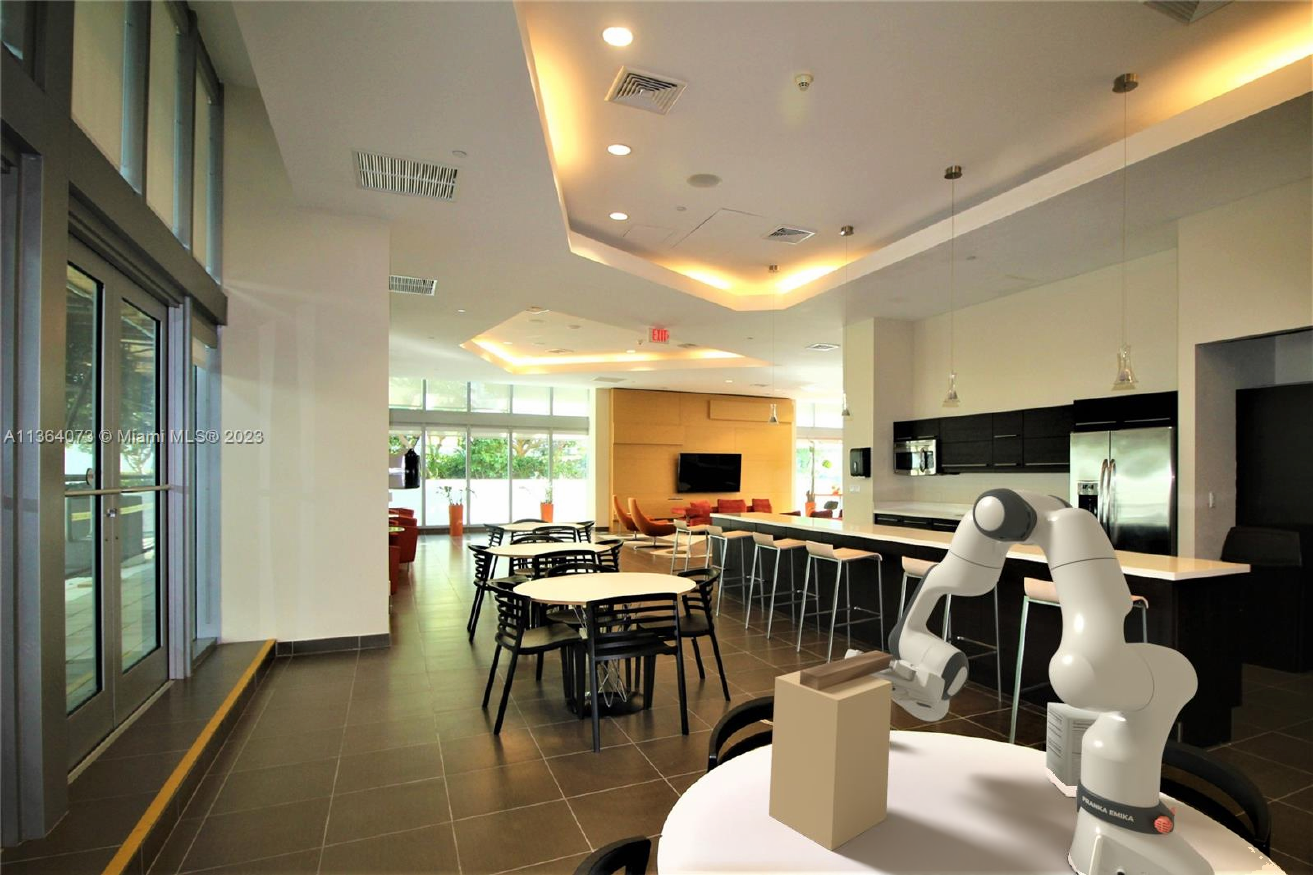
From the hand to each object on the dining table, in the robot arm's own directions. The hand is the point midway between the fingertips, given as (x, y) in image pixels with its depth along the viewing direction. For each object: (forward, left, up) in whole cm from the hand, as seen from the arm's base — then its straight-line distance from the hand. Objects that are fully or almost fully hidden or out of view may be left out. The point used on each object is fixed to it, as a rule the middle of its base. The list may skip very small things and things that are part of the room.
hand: (874, 659), depth 136 cm
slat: (0, +9, -2) cm, 9 cm away
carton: (0, +14, -28) cm, 31 cm away
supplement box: (-25, -42, -28) cm, 56 cm away
